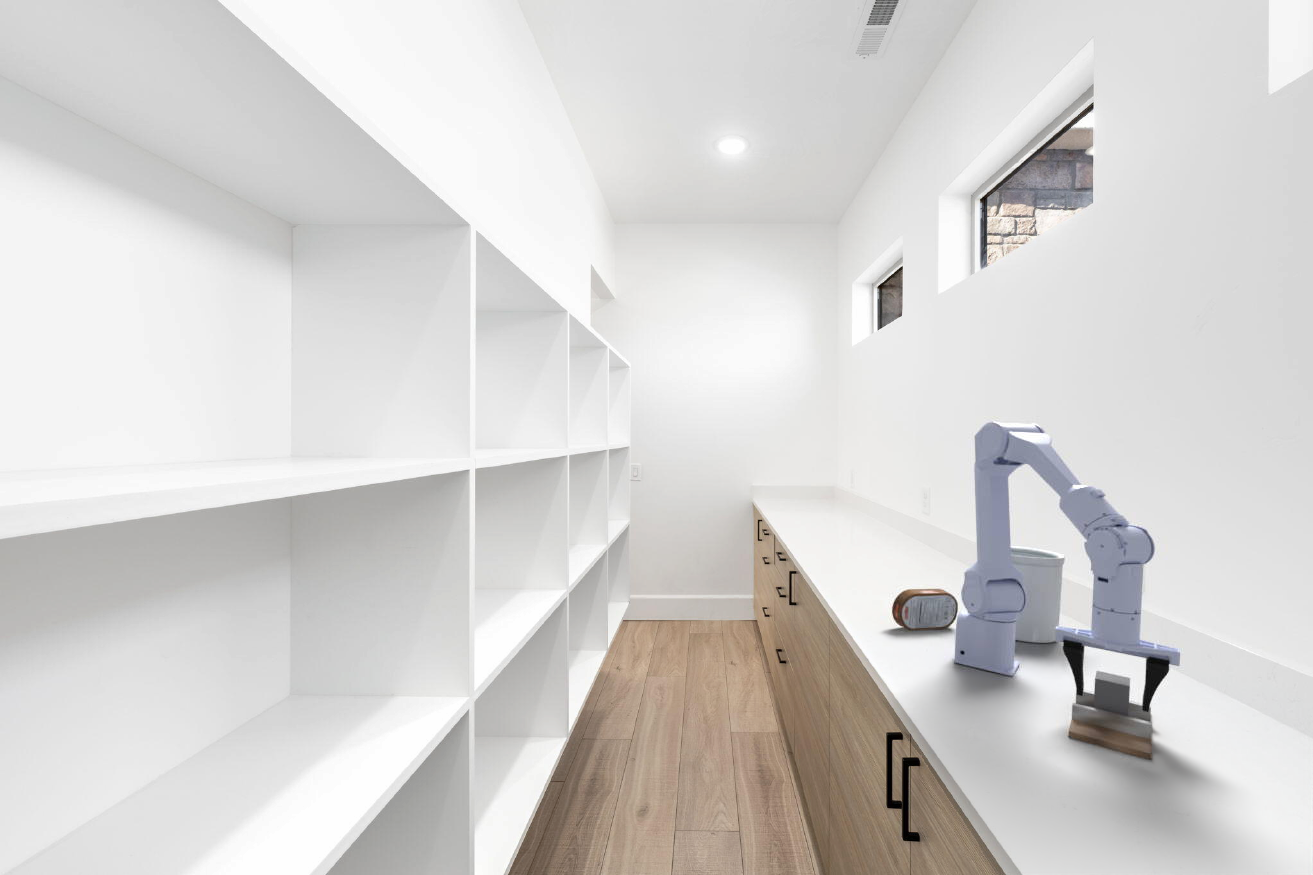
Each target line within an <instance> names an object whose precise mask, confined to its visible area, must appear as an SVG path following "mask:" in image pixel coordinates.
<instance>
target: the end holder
mask: <svg viewBox="0 0 1313 875" xmlns="http://www.w3.org/2000/svg"><path fill="white" fill-rule="evenodd" d="M1075 690H1076V689H1075ZM1142 703H1143V702H1137V701H1132V700H1129V715H1128V716H1124V715H1120V714H1116V713H1112V712H1108V711H1104V710H1100V709H1096V708H1094V691H1091V690H1086V689H1084V690H1083V696H1080V695H1077V690H1076V691H1075V702H1072V704H1071V705H1072V706H1071V720H1070V724H1069V728H1068V733H1067V734H1068V736H1067V737H1068V738H1071V739H1074V740H1078V741H1081V742H1082V741H1083V742H1086V743H1089V744H1093V745H1096V746H1099V747H1103V748H1107V749H1110V750H1115V751H1118V752H1121V753H1125V754H1129V755H1132V756H1137V757H1139V758H1143V759H1146V760H1150V761H1152V726H1153V725H1152V721H1151V717H1152V716H1151V712H1152V711H1151V710H1152V705H1150V707H1149V712H1146V711H1142Z"/></svg>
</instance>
